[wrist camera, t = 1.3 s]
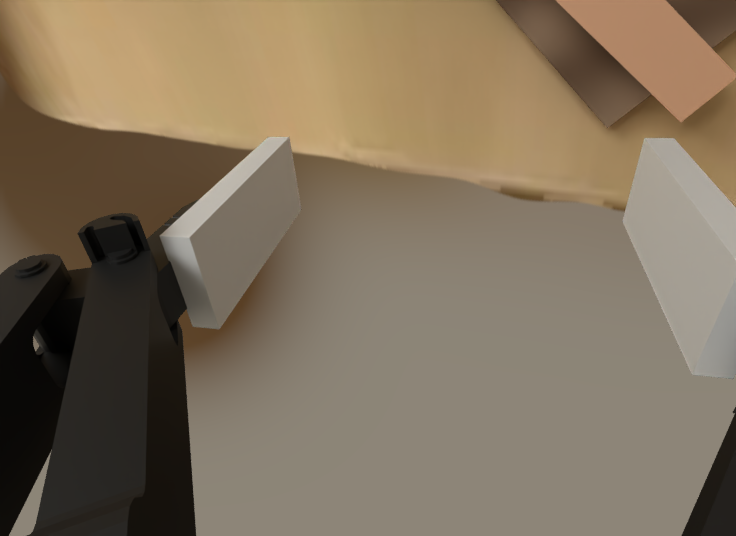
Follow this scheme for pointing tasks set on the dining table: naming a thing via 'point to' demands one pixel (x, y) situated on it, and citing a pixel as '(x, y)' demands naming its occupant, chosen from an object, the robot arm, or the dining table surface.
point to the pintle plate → (593, 62)
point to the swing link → (656, 50)
